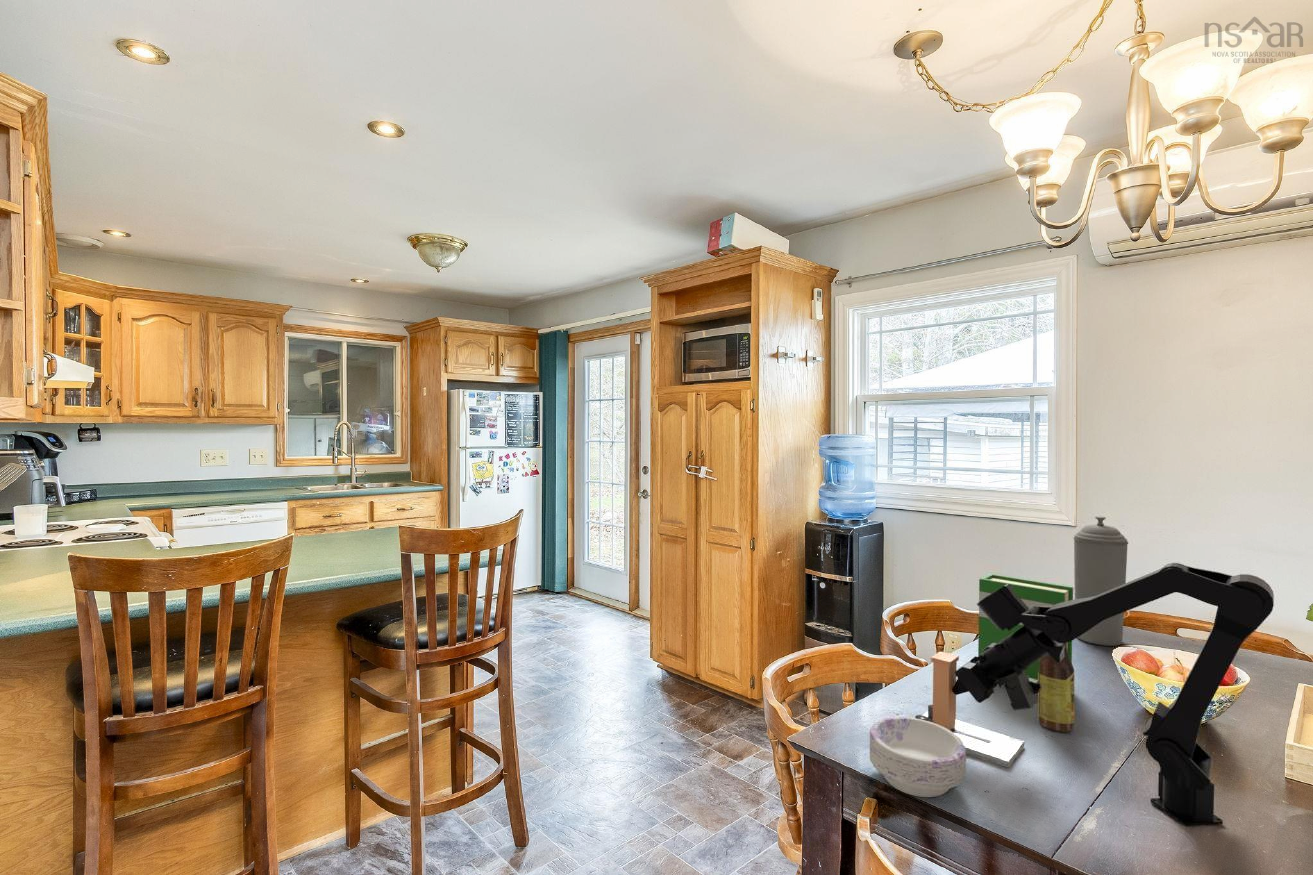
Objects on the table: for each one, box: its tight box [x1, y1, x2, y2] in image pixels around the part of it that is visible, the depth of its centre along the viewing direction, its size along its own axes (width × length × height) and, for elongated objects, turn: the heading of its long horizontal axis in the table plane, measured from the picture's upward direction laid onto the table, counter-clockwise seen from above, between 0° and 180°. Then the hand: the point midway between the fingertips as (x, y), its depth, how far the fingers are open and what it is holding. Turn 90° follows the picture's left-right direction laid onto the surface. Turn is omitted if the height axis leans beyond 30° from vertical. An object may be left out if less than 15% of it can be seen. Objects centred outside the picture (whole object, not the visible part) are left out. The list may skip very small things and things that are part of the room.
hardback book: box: [977, 573, 1074, 695], centre depth 150 cm, size 18×7×24 cm, turn 44°
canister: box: [1073, 515, 1129, 647], centre depth 180 cm, size 13×13×35 cm
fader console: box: [915, 704, 1025, 769], centre depth 124 cm, size 18×10×3 cm, turn 46°
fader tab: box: [930, 651, 960, 730], centre depth 126 cm, size 4×5×14 cm
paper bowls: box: [869, 716, 967, 798], centre depth 109 cm, size 15×15×8 cm
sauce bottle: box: [1037, 641, 1076, 733], centre depth 129 cm, size 6×6×20 cm
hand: (954, 692), depth 125 cm, fingers closed
